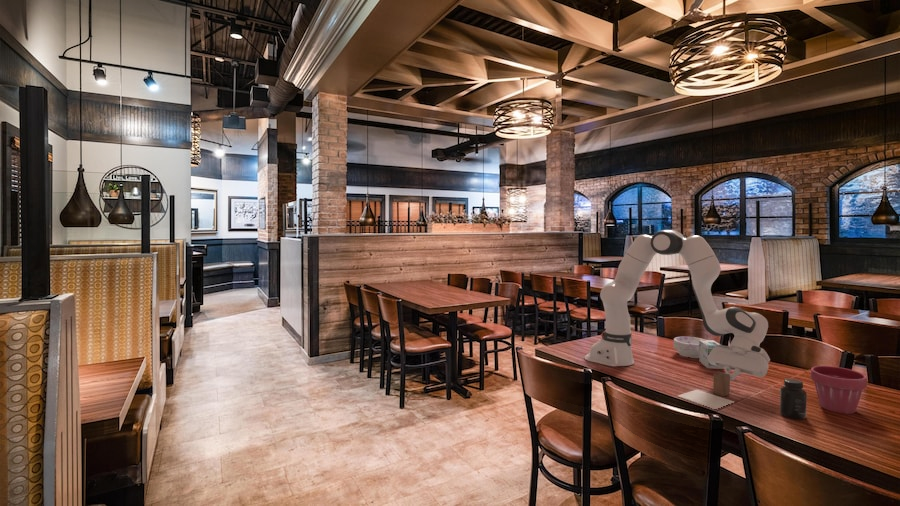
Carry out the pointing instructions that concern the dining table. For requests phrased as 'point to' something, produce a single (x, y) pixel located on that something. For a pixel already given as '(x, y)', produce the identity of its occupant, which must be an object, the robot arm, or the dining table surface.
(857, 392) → the plant pot
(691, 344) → the paper bowls
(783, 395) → the supplement bottle
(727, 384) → the wooden block
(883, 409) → the dining table surface
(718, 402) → the plate
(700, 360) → the light bulb box
